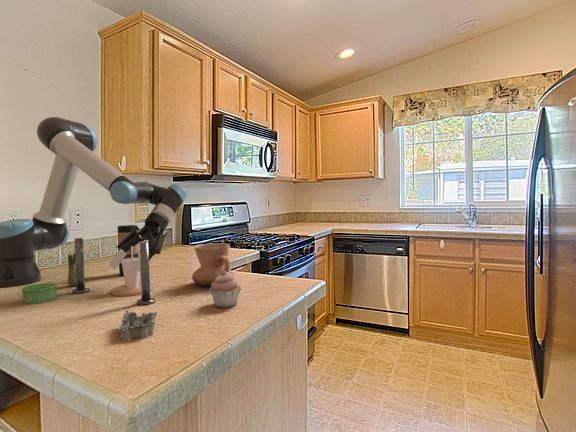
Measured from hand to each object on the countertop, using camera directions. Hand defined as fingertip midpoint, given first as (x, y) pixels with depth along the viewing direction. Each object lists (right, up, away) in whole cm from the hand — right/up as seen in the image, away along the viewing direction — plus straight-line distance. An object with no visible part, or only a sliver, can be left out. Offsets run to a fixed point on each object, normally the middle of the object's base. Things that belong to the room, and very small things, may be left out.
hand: (124, 268), depth 114 cm
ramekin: (-23, -9, -7) cm, 26 cm away
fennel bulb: (-23, -8, +11) cm, 26 cm away
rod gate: (-2, -8, -4) cm, 10 cm away
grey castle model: (+19, -10, -32) cm, 39 cm away
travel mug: (-12, -7, +29) cm, 32 cm away
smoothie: (+1, -7, +3) cm, 8 cm away
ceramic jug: (+27, -8, +11) cm, 30 cm away
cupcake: (+36, -9, -13) cm, 39 cm away
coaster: (+1, -8, +3) cm, 9 cm away
